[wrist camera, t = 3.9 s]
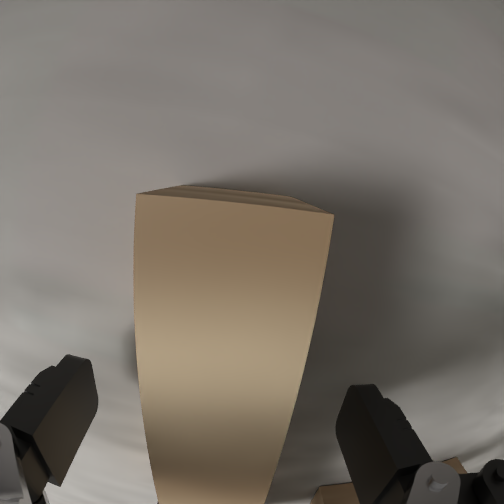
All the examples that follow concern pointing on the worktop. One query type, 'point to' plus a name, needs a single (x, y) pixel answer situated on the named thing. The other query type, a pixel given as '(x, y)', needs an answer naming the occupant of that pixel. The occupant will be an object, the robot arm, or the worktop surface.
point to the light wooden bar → (222, 334)
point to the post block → (344, 495)
